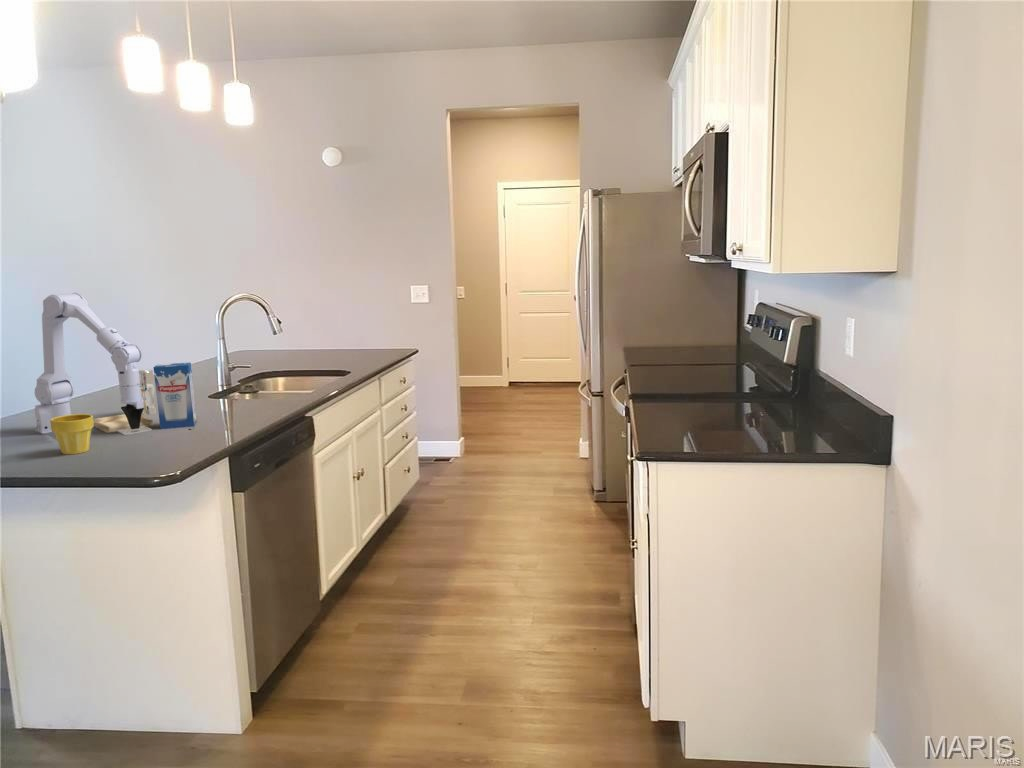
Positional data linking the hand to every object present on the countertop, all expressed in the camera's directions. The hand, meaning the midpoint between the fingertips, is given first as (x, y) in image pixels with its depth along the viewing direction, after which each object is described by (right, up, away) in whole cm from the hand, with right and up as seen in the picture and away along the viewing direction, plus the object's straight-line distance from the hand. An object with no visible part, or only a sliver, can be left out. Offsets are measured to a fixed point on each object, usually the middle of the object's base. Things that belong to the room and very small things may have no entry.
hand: (135, 428), depth 231 cm
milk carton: (+11, 0, +6) cm, 12 cm away
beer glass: (-9, +3, +27) cm, 29 cm away
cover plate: (-1, -2, +1) cm, 2 cm away
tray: (-9, 0, +10) cm, 13 cm away
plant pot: (-7, -5, -20) cm, 22 cm away
